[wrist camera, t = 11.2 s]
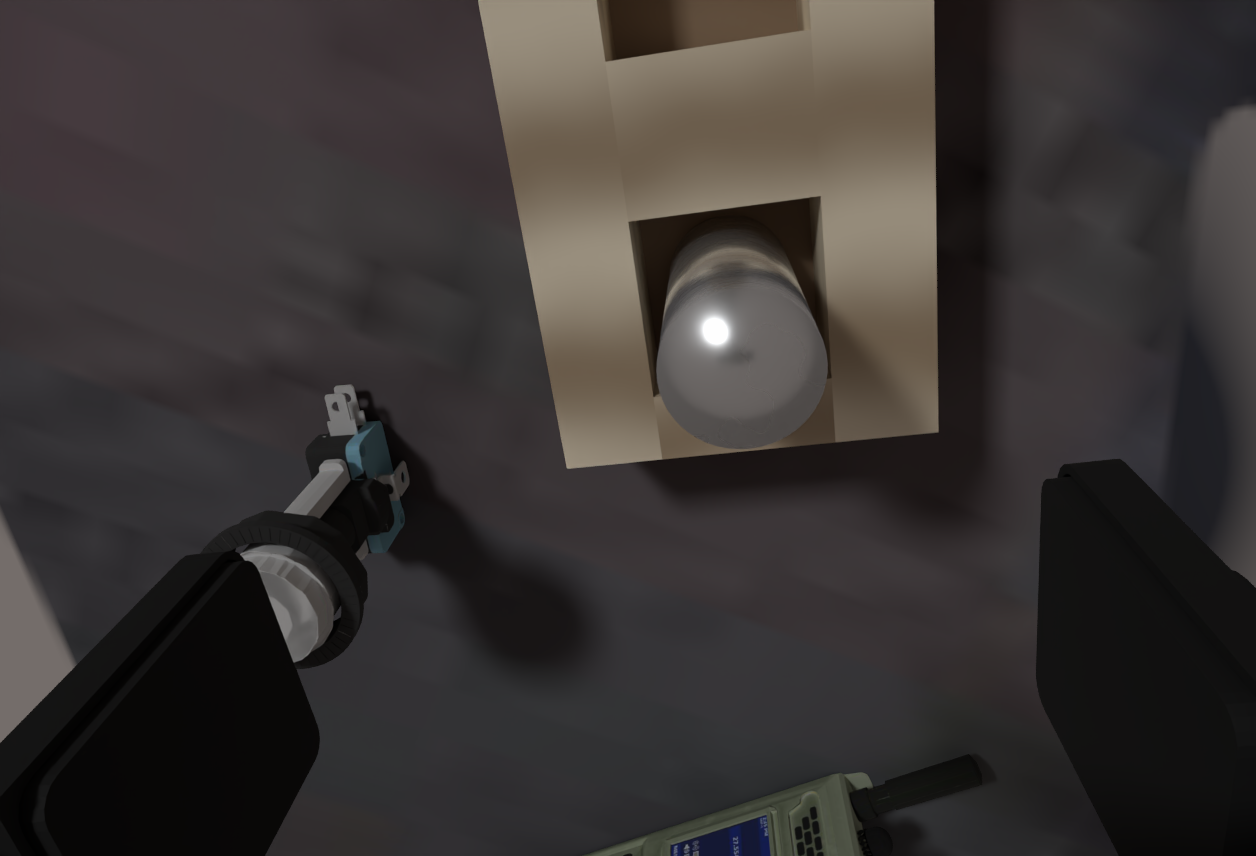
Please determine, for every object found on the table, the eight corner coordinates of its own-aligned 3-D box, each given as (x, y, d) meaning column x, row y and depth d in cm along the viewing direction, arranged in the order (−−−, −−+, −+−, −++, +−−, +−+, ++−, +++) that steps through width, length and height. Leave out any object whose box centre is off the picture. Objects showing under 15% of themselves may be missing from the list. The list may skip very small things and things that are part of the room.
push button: (285, 385, 35) (136, 507, 26) (417, 374, 34) (312, 497, 25) (327, 533, 37) (204, 692, 28) (449, 525, 37) (365, 686, 28)
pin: (662, 223, 30) (644, 299, 20) (783, 206, 29) (821, 277, 20) (677, 338, 31) (668, 457, 22) (793, 324, 31) (833, 440, 21)
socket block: (476, -205, 26) (428, -257, 22) (888, -288, 25) (930, -362, 20) (585, 411, 34) (567, 468, 30) (905, 377, 33) (938, 432, 28)
